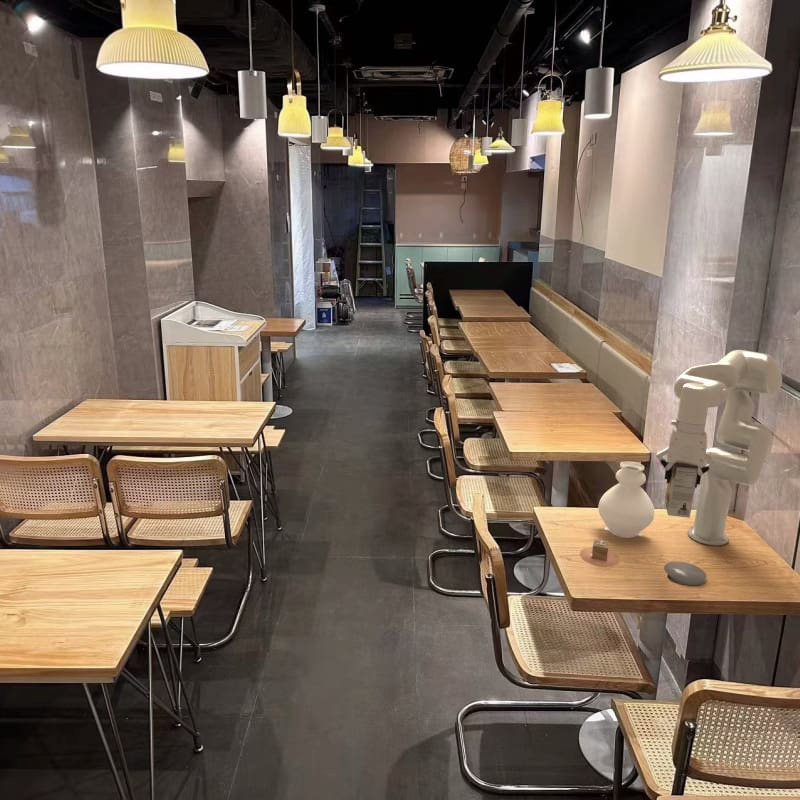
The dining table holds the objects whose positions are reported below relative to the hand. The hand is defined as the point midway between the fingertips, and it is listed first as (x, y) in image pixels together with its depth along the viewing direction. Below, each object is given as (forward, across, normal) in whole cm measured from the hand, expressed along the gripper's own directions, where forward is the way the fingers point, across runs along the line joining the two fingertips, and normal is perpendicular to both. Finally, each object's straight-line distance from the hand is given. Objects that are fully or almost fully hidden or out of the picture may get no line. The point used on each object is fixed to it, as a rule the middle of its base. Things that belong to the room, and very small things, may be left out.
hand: (681, 483), depth 203 cm
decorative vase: (+30, -15, +19) cm, 38 cm away
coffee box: (+9, 0, 0) cm, 9 cm away
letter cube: (+28, -20, -2) cm, 34 cm away
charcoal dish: (+29, +5, 0) cm, 30 cm away
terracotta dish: (+29, -20, -2) cm, 35 cm away
